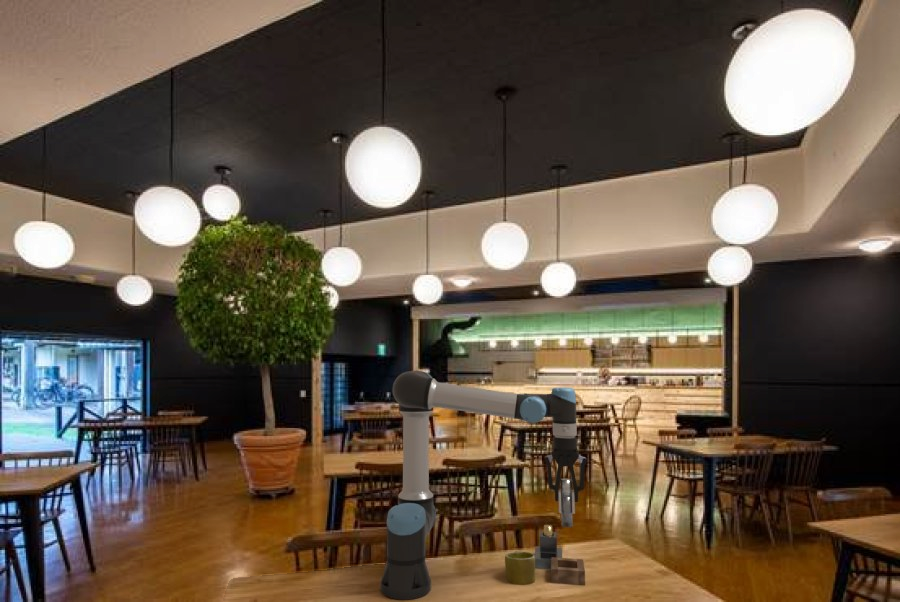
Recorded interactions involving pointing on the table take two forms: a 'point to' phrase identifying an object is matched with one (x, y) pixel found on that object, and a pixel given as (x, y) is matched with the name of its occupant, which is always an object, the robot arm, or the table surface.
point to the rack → (567, 571)
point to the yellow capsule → (547, 530)
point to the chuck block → (546, 551)
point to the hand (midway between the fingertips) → (566, 512)
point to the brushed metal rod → (566, 502)
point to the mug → (520, 567)
